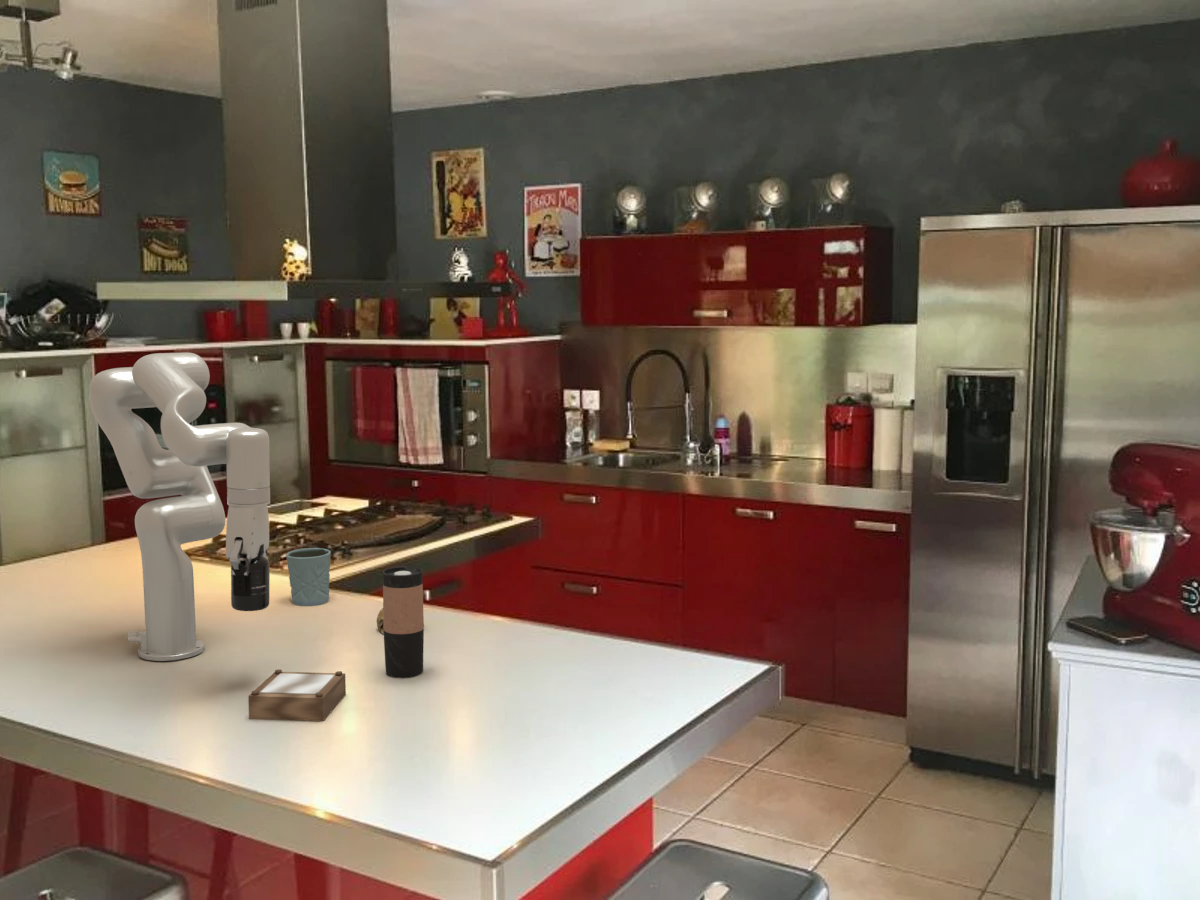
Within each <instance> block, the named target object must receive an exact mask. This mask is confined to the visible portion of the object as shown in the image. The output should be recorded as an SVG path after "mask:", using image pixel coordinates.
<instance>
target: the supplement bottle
mask: <svg viewBox="0 0 1200 900" xmlns="http://www.w3.org/2000/svg"><path fill="white" fill-rule="evenodd" d="M263 554H264V544H262V545H261V546H260V548H259V553H258V556H257V557H255V558H254V559H252V560H251V565H250V571H249V575H251V586H252V595H251V596H249V597H246V596H234V594H233V575H232V568H231V566H232V565H231V564H230V584H231V585H230V602H231V603H230V604H231V607H232V608H233V609H234V610H236V611H238V612H239V611H240V612H257V611H261V610H265V609H267V608H268V607H269V606H270V572H271V571H270V561H269V559H268V557H267V556H266V557H267V558H266V557H264V556H263ZM246 557H247V555H240V558H246ZM240 563H243V565H244V567H245V563H246V562H240Z"/></svg>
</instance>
